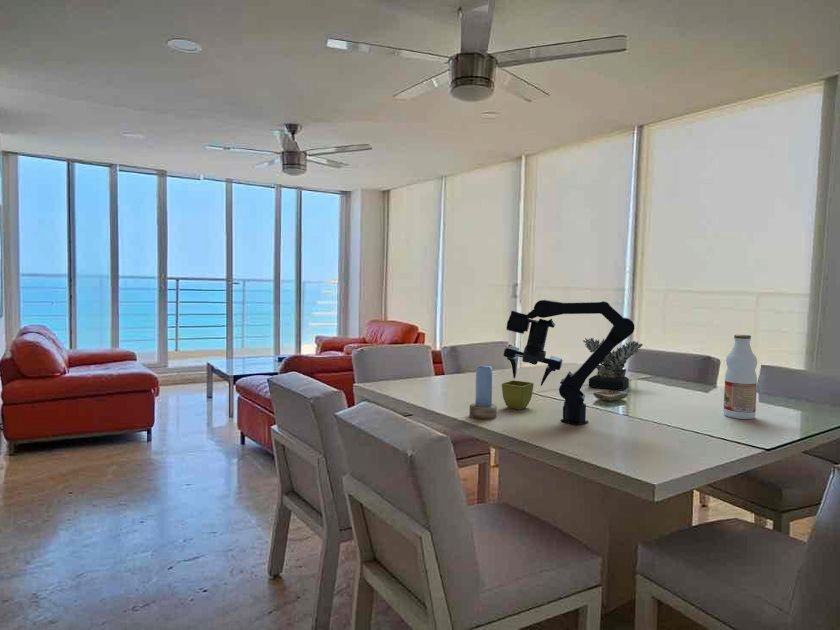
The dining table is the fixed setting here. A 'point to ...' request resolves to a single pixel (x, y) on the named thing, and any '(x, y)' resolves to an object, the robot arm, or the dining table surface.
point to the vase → (483, 386)
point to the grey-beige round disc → (483, 412)
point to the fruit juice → (740, 380)
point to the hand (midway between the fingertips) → (527, 381)
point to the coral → (612, 366)
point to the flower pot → (517, 393)
